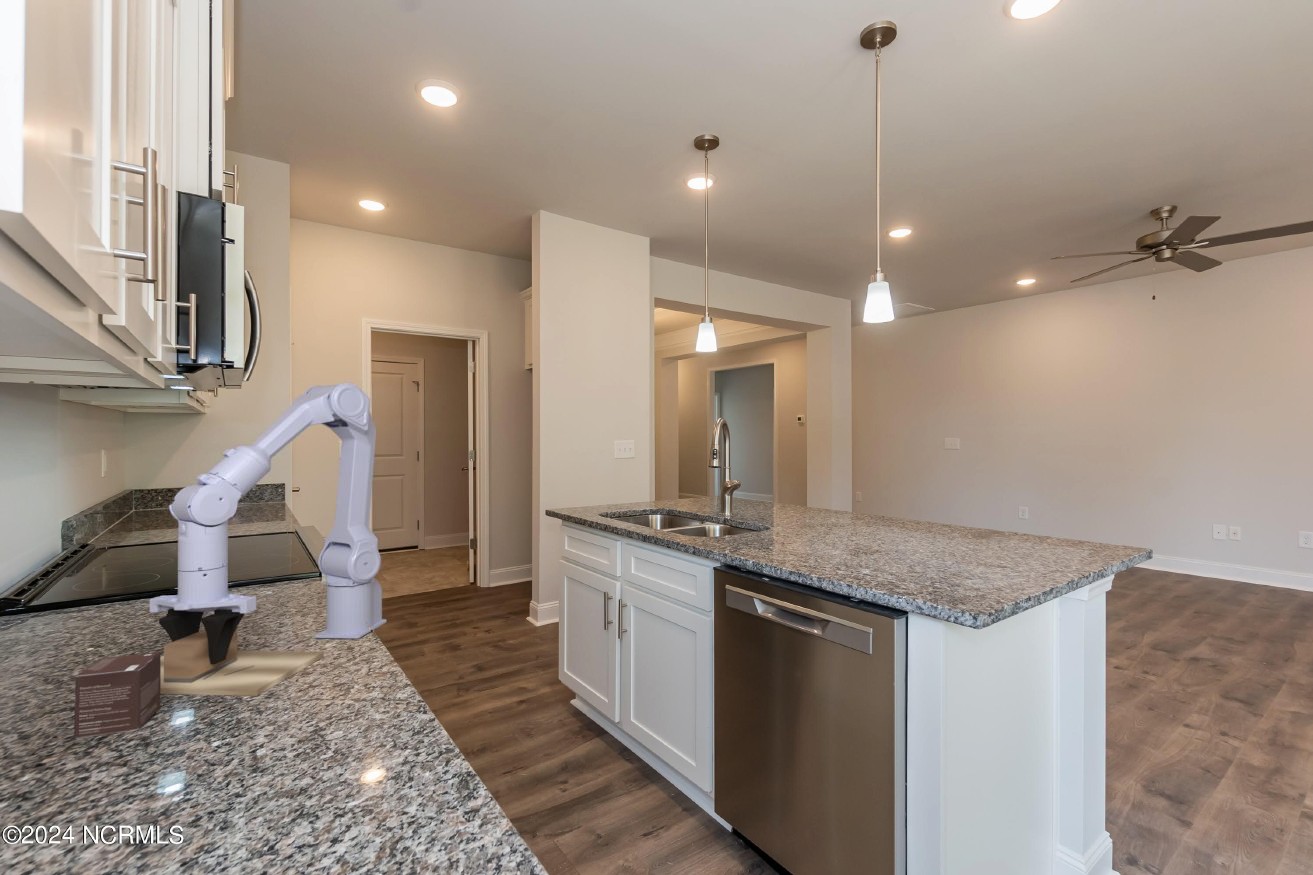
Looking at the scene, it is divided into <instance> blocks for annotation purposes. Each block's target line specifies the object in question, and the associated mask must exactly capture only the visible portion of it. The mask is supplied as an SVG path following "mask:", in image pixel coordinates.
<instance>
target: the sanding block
mask: <svg viewBox="0 0 1313 875" xmlns="http://www.w3.org/2000/svg"><path fill="white" fill-rule="evenodd" d="M237 647H238V627H237V628H236V630H235V632H234V634H233V637H232V640H231V642H230V646H229V649H228V652H227V656H226V659H225V660H223V661H221V662H219V663H217V664H211V663H210V659H209V648H208V638H207V634H206V630H205V629H202V630H201V631H200V630H199V632H197V633H195V634H192V635H189V636H187V637H184V638H182V639H179V640H176V641H174V642H172V641H171V642H169V643H165V644H164V645H163V656H164V682H193V681H195V680H197V679H199V678H201V677H203V676H205V675H208V674H210V673H212V672H214V671H216V670H218V669H220V668H222V667H224V666H226V665H228V664H230V663H233V662H235V661H237V651H238V648H237Z"/></svg>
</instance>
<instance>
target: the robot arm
mask: <svg viewBox="0 0 1313 875" xmlns="http://www.w3.org/2000/svg"><path fill="white" fill-rule="evenodd" d="M370 408H371V398H370V397H369V396H368V395H367V394H366V392H364V390H362V388H360V387H359V386H358V385H357V384H354V383H351V382H350V383H349V382H344V383H340V384H333V385H332V384H331V385H312V386H311V387H309V388H307V389H306V390H305V392H304V393H303V394H301V395H299V396H297V397H296V398H294V400H293V401H292V402H291V405H290V406H289V407H288V408H287V409H285V411H284V412H282V414H281V415H279V417H278V418H277V419H276V420H275V421H274V422H273V423H272V424H271V425H269V427H267V429H265V430H264V432H262V434H260V436H259V437H258V438H257V439H256V440H255V441H254V442H253V443H251V444H250V445H237V446H235V448H227V449H225V450H224V452H223V453H222V454H221V455H222V456H223V458H222V459H221V460H220V461H218V462H217V463H216V464H215V465H214V466H213V467H212V468H210V469H209V471H208V472H206V473H200V474H199V475H198V476H197V477H195V478H196V480H197V484H192V485H188V486H186V487H183V488H182V489H180V490H179V491H178V492H177V493H176V495H175V496H174V498H173V500H174V501H172V503H171V504H169V505H168V508H169V512H170V514H171V516H172V517H173V518H174V519H175V520H176V521H177V522H178V524H177V525H178V527H177V528H178V529H177V530H178V537H177V594H176V595H160V596H159V595H158V596H155V597H153V598H149V613H159V612H167V613H166V614H165V616H161V617H160V618H158V624H159V625H160V626H161V627H162V628H163V630H164V631H165V632H166V633H167V635H168V636H169V638H170V640H171V642H174V641H176V640H179V639H182V638H184V637H187V636H189V635H192V634H195V633H197V632H200V626H201V623H202V626H203V628H204V630H206V634H207V638H208V648H209V659H210V663H211V664H217V663H219V662H221V661H223V660H225V659H226V656H227V652H228V649H229V646H230V642H231V640H232V637H233V634H234V632H235V630H236V628H237V629H238V626H239V624H240V622H241V621H242V619H243V618H244V616H245V614H248V613H251V612H254V611H256V610H257V596H250V595H249V596H248V595H242V594H235V593H229V584H228V581H229V577H228V576H229V561H228V560H229V532H228V531H229V527H228V526H229V524H228V523H229V522H228V521H229V519H230V518H233V517H235V516H234V515H235V514H236V512H237V510H238V503H239V501H240V500H241V499H242V498H243V497H245V495H246V494H247V493H248V492H250V491H251V489H252V488H253V487H255V486H256V485H257V484H258V482H260V481H261V480H262V479H263V478H264V477H265V476H266V475H267V474H268V473H269V472H271V469H272V458H274V456H276V455H277V454H278V453H279V452H280V451H281V450H283V449H284V448H285V447H286V446H288V445H289V444H290V443H291V442H292V441H293V440H294V439H296V438H297V437H298V436H299V435H300V434H302V433H303V432H304V431H306V429H308V427H309V428H310V426H317V425H323V426H325V427H326V428H329V429H330V430H331V431H332V432H333V433H334V434H335V435H336V436H337V437H338V438H339V439H340V440H341V445H340V458H339V469H338V482H337V494H336V505H335V506H336V507H335V518H334V527H333V528H332V529H331V530H330V531H329V533H328V534H327V535H326V536H325V539H324V540H325V541H324V546H323V549H322V550H321V552H320V553H319V557H318V560H317V567H318V569H319V571H320V573H322V574H323V575H324V576H325V583H326V629H324V630H322V631H320V632H318V633H316V634H315V635H314V638H316V639H356V640H357V639H361V638H362V637H364V636H365V635H367V634H369V633H371V632H372V631H374V630H375V629H377V628H379V627H380V626H383V625H385V623H387V619H385V618H383V590H382V586H381V583H380V582H379V580H378V579H377V578H375V577H376V575H377V574H378V573H379V571H380V568H381V565H382V556H381V553H380V552H379V548H378V547H379V546H378V542H379V540H378V538H377V536H376V535H375V533H374V532H373V531H372V530H371V529H370V518H371V517H370V514H371V505H372V504H371V502H372V488H373V479H374V478H373V477H374V465H375V455H376V453H375V452H376V439H377V429H376V426H375V423H374V420H373V417H372V414H371V411H370ZM205 612H206V613H207V612H209V613H210V612H213V613H212V614H209V615H206V616H203V615H204V614H205ZM365 621H366V622H365ZM366 623H367V624H368V625H369V626H370V628H371V629H372V631H371V630H370V629H369V627H368V625H367V624H366Z"/></svg>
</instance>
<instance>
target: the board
mask: <svg viewBox="0 0 1313 875" xmlns="http://www.w3.org/2000/svg"><path fill="white" fill-rule="evenodd" d="M322 658H324V651H289V650H288V651H286V650H279V651H278V650H237V661H235V662H233V663H230V664H228V665H226V666H224V667H222V668H220V669H218V670H216V671H214V672H212V673H210V674H208V675H205V676H203V677H201V678H199V679H197V680H195V681H193V682H164V655H160V661H161V666H160V668H161V673H160V676H161V687H160V695H185V696H186V695H188V696H189V695H192V696H195V695H196V696H233V697H234V696H237V697H238V696H239V697H240V696H242V697H244V696H245V697H258V696H259V695H261V694H263V693H265V692H267V691H268V690H269V689H272V688H273V687H275V686H277V685H278V684H280V683H282V682H284V681H286V680H287V679H288V678H290V677H293V675H296V674H297V673H299V672H300V671H302V670H304V669H305V668H308V667H309V666H310V665H312V664H315V663H316V662H317V661H319V660H321V659H322ZM315 661H316V662H315ZM286 678H287V679H286Z"/></svg>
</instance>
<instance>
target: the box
mask: <svg viewBox="0 0 1313 875" xmlns="http://www.w3.org/2000/svg"><path fill="white" fill-rule="evenodd" d="M161 656H162V655H161V652H159V651H156V652H148V653H141V654H140V653H139V654H130V655H121V656H110V657H104V658H103V657H102V658H101V659H99V660H98V661H96V662H95V663H93V664H92V665H89V666H88V667H87V668H85V669H84V670H83V671H81V672H80V673H78V674H76V675H75V676H74V679H75V680H74V681H75V687H74V689H75V690H74V729H73V730H74V731H73V732H74V733H73V734H74V737H73V738H74V739H76V740H80V739H86V738H93V737H100V736H104V735H106V736H107V735H110V734H111V735H112V734H120V733H122V734H123V733H128V732H134V731H138V730H140V729H141V728H142V727H143V726H144V725H145V724H146V723H147V722H148V721H149V719H150V718H151V717H153V716H154V715H155V714H156V712H157V711H159V710H160V709H161V694H160V687H161V676H160V673H161V668H160V666H161V661H160V657H161Z"/></svg>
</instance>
